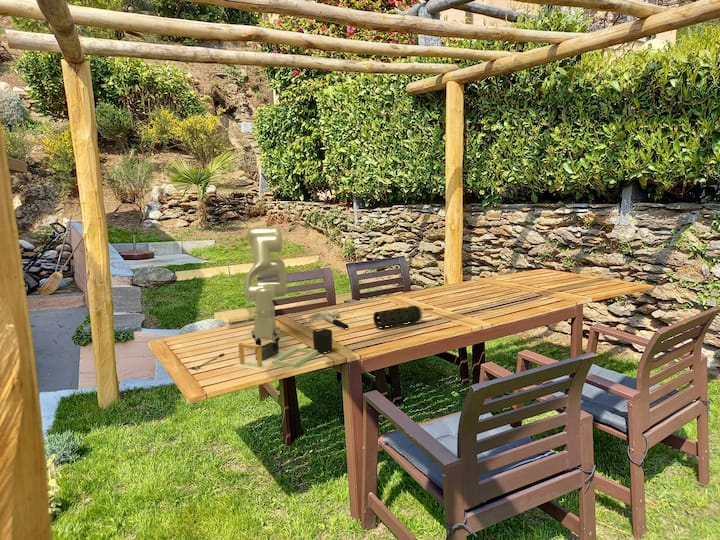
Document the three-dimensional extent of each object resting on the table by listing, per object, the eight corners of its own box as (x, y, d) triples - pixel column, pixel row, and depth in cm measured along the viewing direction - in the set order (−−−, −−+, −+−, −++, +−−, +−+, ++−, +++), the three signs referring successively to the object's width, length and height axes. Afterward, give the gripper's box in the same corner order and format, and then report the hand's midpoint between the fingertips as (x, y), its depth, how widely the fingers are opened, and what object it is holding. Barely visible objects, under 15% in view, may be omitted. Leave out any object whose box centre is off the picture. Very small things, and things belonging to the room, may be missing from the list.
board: (268, 349, 236) (268, 348, 236) (291, 353, 230) (291, 351, 230) (233, 367, 213) (233, 365, 213) (258, 371, 207) (258, 369, 207)
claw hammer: (360, 320, 273) (336, 308, 298) (326, 326, 262) (304, 314, 287) (360, 329, 274) (336, 317, 299) (326, 336, 263) (304, 322, 288)
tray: (296, 352, 231) (296, 347, 231) (317, 355, 226) (317, 350, 226) (272, 365, 213) (272, 360, 213) (294, 369, 208) (294, 363, 208)
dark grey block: (272, 351, 231) (272, 341, 230) (280, 352, 229) (279, 342, 229) (254, 360, 218) (253, 350, 218) (262, 361, 217) (261, 351, 216)
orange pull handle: (242, 362, 216) (241, 342, 215) (262, 365, 211) (261, 345, 210) (239, 363, 214) (238, 343, 213) (259, 366, 210) (258, 346, 208)
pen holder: (316, 348, 237) (315, 328, 235) (334, 348, 235) (333, 329, 234) (311, 354, 228) (310, 334, 226) (330, 354, 226) (329, 334, 225)
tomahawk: (202, 373, 209) (202, 371, 209) (190, 370, 212) (190, 368, 212) (232, 357, 228) (232, 355, 228) (221, 354, 231) (221, 352, 231)
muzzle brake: (373, 327, 272) (372, 309, 270) (414, 320, 284) (413, 303, 282) (381, 331, 263) (381, 313, 262) (423, 324, 276) (423, 306, 274)
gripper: (245, 314, 221) (247, 350, 223) (275, 317, 213) (277, 353, 216) (255, 311, 228) (257, 345, 230) (284, 313, 220) (286, 349, 222)
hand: (267, 349), depth 223 cm, fingers open, 9 cm apart
